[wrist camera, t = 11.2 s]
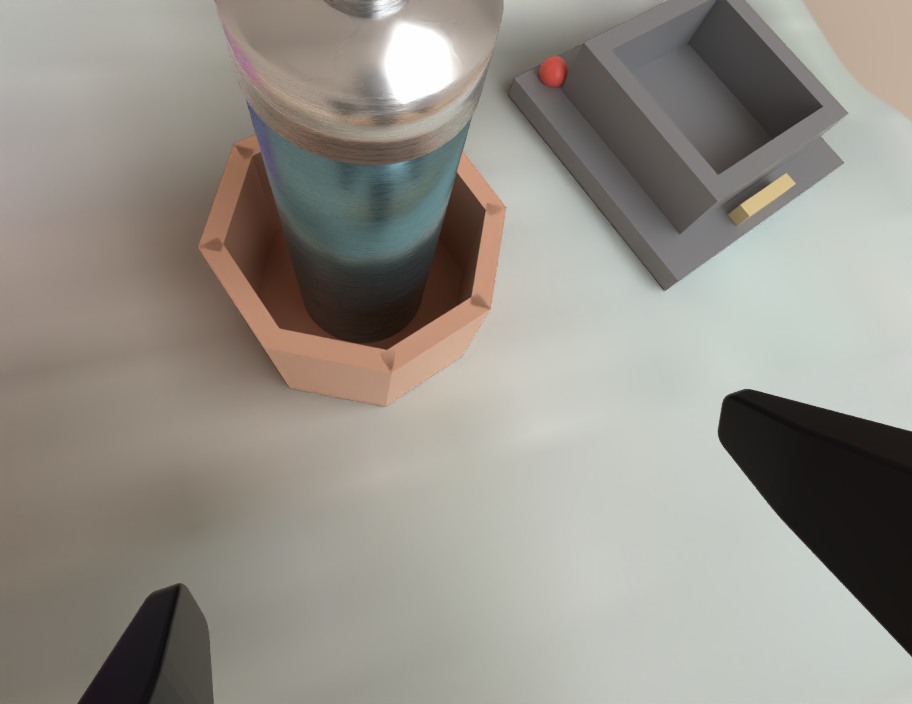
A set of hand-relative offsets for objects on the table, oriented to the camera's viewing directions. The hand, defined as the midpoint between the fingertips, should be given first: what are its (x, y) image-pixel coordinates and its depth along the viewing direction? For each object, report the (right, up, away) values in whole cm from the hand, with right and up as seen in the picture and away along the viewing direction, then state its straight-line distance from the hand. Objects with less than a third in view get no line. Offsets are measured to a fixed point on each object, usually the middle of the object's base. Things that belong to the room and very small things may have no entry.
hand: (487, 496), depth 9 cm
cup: (-4, +4, +12) cm, 13 cm away
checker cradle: (+9, +12, +16) cm, 22 cm away
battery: (-4, +5, +11) cm, 13 cm away
